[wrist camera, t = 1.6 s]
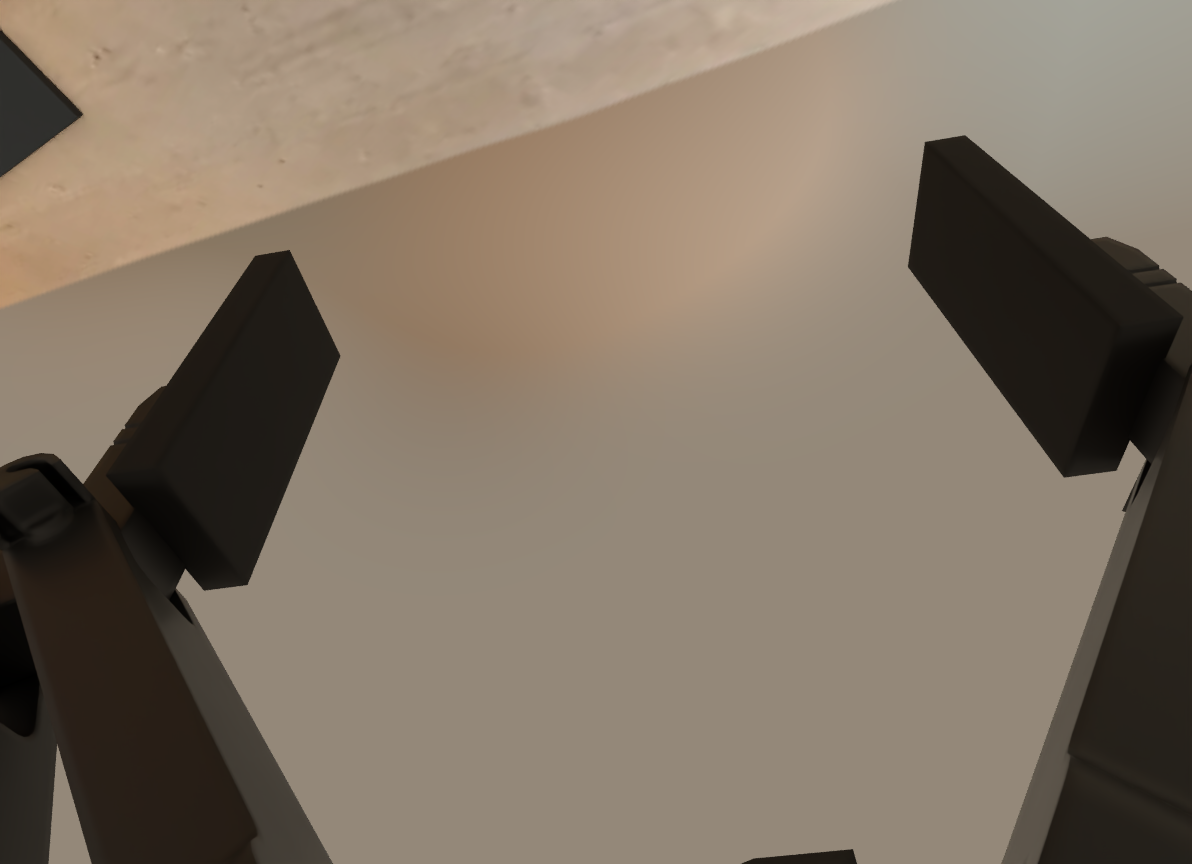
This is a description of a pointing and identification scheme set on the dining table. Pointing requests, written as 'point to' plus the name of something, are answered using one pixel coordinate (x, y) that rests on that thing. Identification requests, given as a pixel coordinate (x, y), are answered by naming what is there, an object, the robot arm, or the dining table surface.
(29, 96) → the word board
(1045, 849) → the robot arm
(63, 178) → the dining table surface
